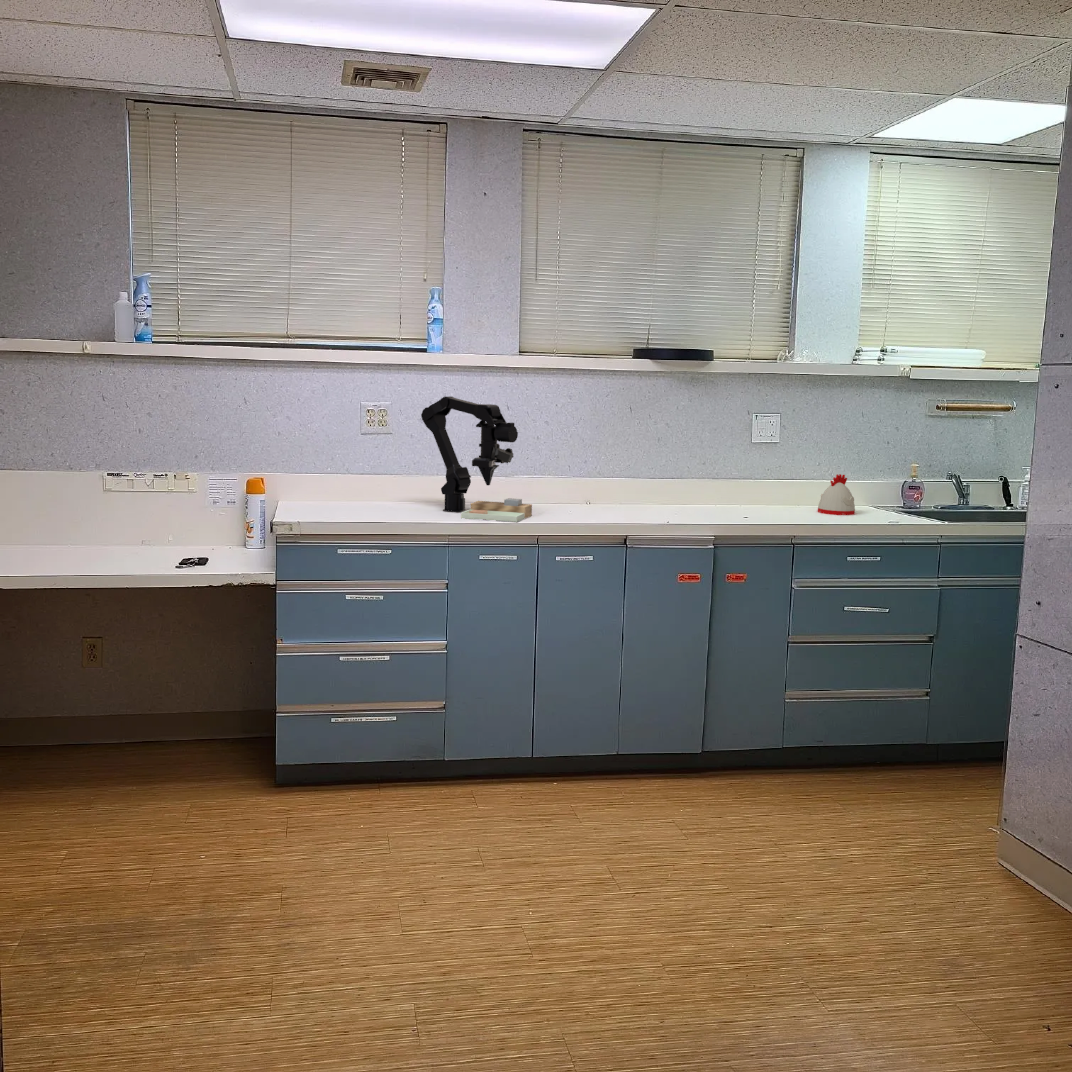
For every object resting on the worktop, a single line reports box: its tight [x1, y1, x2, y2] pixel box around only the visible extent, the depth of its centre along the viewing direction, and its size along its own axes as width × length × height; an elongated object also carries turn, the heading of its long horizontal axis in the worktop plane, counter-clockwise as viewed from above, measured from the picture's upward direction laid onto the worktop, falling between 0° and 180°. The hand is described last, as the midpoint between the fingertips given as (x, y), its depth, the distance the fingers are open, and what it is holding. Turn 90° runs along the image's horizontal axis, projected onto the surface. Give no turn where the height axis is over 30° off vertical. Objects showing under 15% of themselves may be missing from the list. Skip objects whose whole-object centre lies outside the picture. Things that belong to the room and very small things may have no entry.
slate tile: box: [503, 497, 523, 506], centre depth 378 cm, size 5×5×2 cm
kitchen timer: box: [817, 474, 856, 516], centre depth 416 cm, size 14×14×15 cm
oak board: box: [470, 500, 533, 519], centre depth 380 cm, size 20×8×4 cm, turn 74°
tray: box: [460, 508, 526, 523], centre depth 371 cm, size 20×10×2 cm, turn 75°
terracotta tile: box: [469, 510, 488, 514], centre depth 372 cm, size 5×5×2 cm
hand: (488, 485), depth 378 cm, fingers closed
